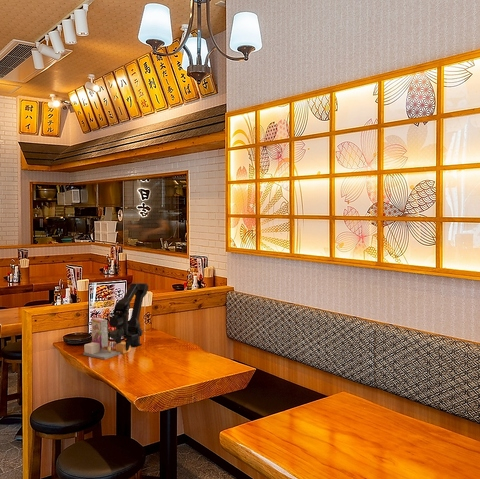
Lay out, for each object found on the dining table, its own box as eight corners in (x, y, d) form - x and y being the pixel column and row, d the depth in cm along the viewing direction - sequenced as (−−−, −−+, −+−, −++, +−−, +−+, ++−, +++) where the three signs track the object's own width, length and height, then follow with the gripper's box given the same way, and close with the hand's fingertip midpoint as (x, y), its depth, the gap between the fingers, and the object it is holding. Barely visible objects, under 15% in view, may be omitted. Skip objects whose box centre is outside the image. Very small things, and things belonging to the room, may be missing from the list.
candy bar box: (91, 344, 307) (90, 318, 306) (98, 343, 310) (98, 317, 309) (101, 348, 299) (100, 321, 298) (108, 346, 303) (107, 319, 302)
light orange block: (122, 349, 296) (122, 341, 296) (130, 351, 293) (130, 343, 293) (115, 352, 291) (115, 344, 290) (123, 353, 288) (123, 345, 287)
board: (98, 349, 295) (98, 340, 295) (120, 354, 287) (119, 344, 286) (83, 355, 285) (83, 345, 285) (104, 359, 277) (104, 349, 276)
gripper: (100, 324, 288) (101, 351, 289) (124, 328, 279) (125, 355, 280) (114, 320, 298) (115, 346, 299) (138, 324, 289) (138, 350, 290)
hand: (123, 349), depth 292 cm, fingers open, 6 cm apart
